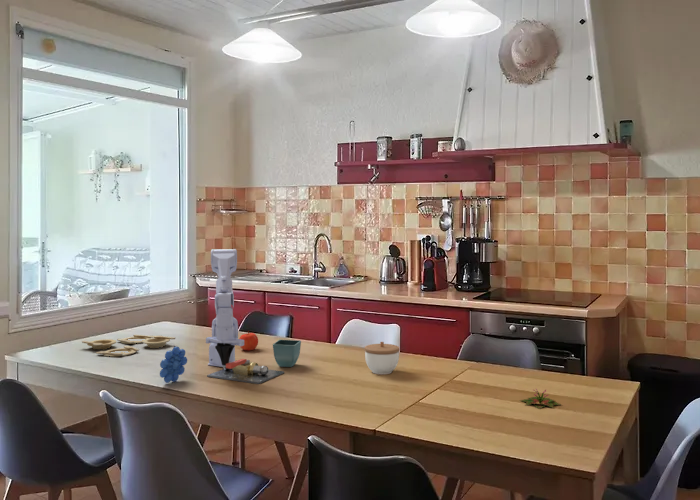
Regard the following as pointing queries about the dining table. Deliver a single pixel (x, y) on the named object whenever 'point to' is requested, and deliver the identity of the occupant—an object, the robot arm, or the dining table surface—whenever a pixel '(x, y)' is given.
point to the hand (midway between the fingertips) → (225, 364)
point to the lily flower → (540, 400)
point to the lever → (237, 363)
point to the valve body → (246, 373)
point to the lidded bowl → (382, 357)
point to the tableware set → (107, 343)
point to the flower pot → (286, 352)
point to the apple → (249, 341)
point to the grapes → (173, 364)
